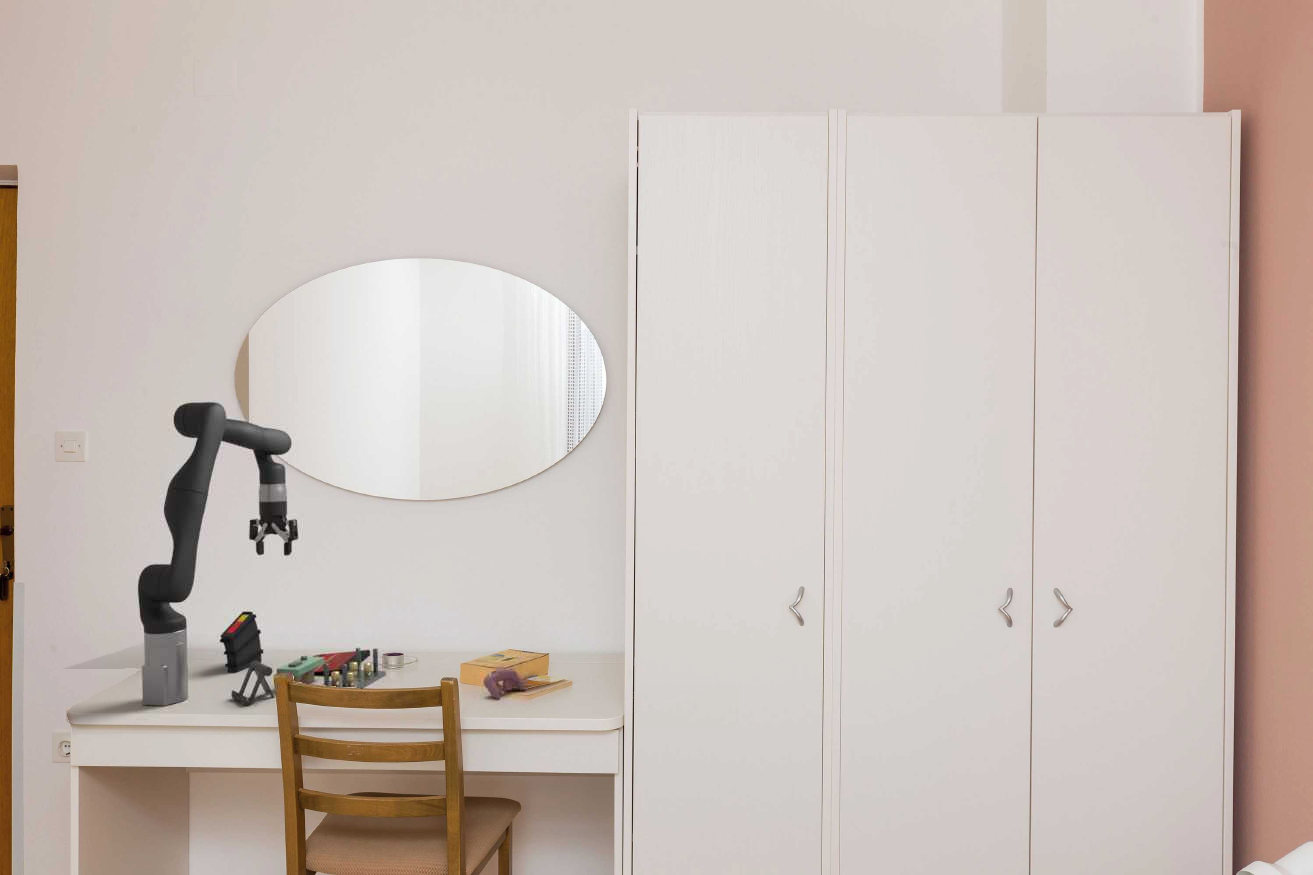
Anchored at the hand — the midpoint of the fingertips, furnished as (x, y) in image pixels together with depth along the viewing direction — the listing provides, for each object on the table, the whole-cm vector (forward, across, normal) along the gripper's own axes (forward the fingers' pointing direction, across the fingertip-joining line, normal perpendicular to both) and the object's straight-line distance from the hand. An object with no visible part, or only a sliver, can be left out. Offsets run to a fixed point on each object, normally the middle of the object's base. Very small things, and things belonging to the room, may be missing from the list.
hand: (274, 554), depth 268 cm
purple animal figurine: (+29, +80, -27) cm, 89 cm away
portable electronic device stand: (+29, +21, -40) cm, 54 cm away
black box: (+29, 0, -15) cm, 33 cm away
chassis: (+29, +38, -24) cm, 54 cm away
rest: (+29, +25, -27) cm, 47 cm away
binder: (+30, +23, -9) cm, 39 cm away
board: (+25, +25, -27) cm, 45 cm away
